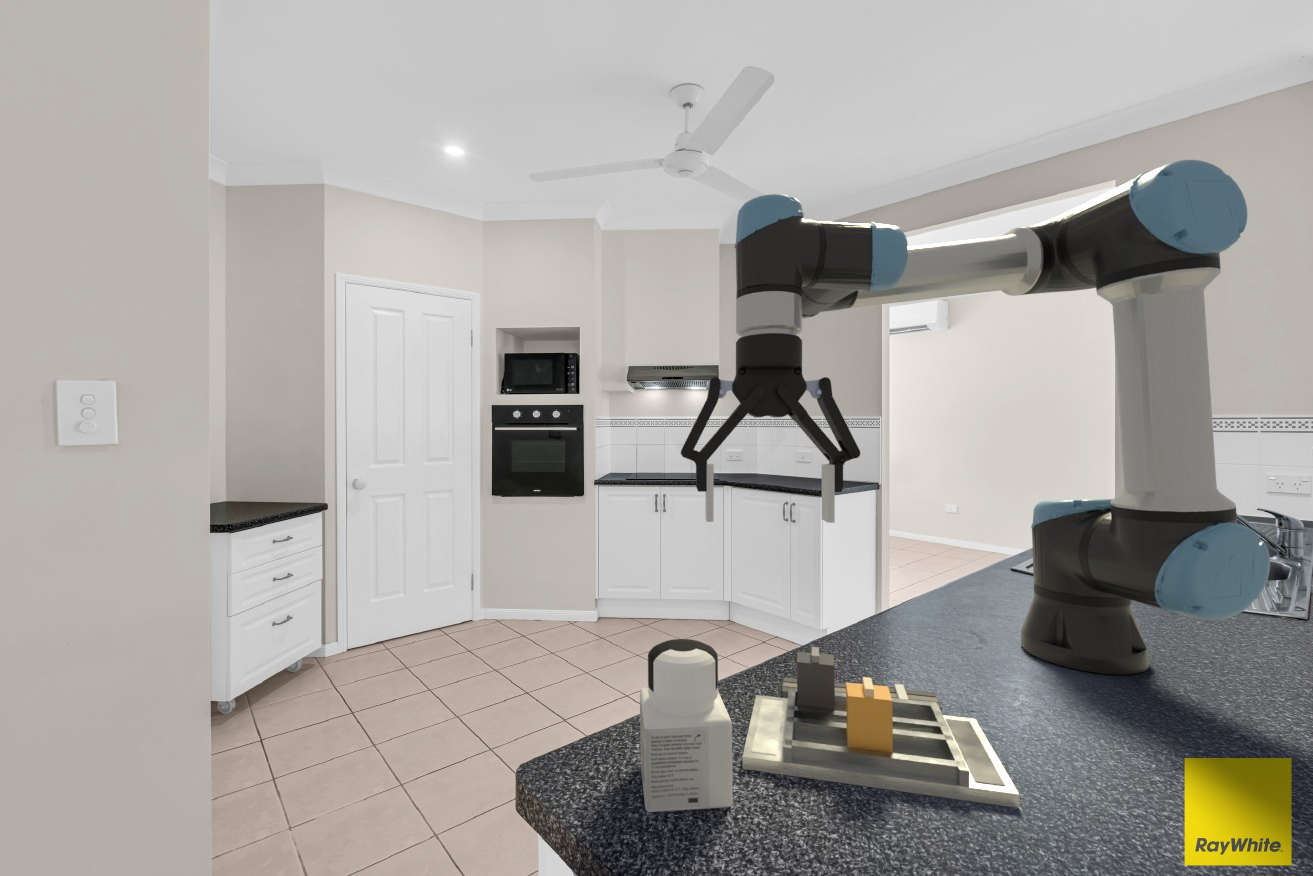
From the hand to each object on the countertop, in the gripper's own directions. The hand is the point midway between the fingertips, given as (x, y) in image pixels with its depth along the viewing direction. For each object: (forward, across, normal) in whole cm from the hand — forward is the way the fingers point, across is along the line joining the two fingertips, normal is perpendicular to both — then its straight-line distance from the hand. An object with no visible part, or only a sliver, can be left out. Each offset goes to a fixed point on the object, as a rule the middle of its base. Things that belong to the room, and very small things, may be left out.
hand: (768, 521), depth 66 cm
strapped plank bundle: (+23, -12, -5) cm, 26 cm away
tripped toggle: (+21, -8, +9) cm, 25 cm away
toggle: (+21, -5, +1) cm, 22 cm away
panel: (+23, -9, +6) cm, 25 cm away
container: (+23, +10, +12) cm, 28 cm away
